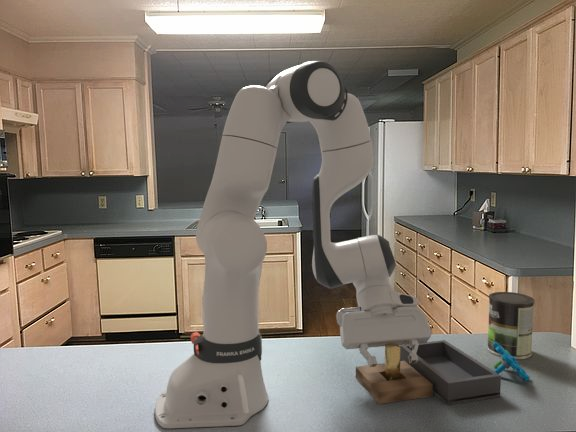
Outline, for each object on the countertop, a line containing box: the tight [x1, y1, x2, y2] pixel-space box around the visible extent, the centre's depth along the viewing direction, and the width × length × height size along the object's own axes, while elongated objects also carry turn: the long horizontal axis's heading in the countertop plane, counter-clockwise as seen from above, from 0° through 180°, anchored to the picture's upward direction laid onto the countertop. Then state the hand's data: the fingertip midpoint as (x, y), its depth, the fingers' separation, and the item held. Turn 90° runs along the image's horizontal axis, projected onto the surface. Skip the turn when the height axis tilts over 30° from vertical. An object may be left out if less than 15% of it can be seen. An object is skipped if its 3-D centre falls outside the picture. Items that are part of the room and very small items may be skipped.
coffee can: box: [487, 291, 535, 360], centre depth 114 cm, size 10×10×14 cm
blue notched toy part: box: [493, 342, 531, 382], centre depth 101 cm, size 11×6×10 cm
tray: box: [400, 339, 502, 406], centre depth 100 cm, size 12×20×4 cm, turn 14°
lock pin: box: [384, 343, 400, 381], centre depth 97 cm, size 3×3×9 cm
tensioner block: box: [355, 361, 434, 405], centre depth 97 cm, size 12×12×2 cm
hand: (393, 364), depth 96 cm, fingers open, 8 cm apart
